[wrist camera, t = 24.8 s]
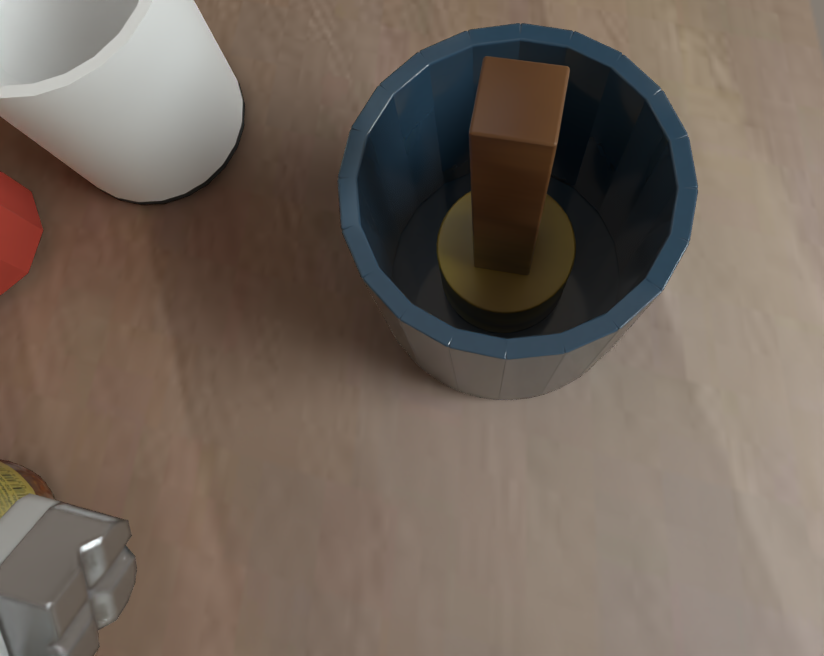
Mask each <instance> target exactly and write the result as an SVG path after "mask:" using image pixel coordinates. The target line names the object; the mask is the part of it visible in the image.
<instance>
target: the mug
mask: <svg viewBox="0 0 824 656" xmlns="http://www.w3.org/2000/svg"><path fill="white" fill-rule="evenodd" d="M244 112H245V103H244V99H243V96H242V92H241V88H240V84H239V82H238V81H237V79H236V77H235V75H234V73H233V71H232V70H231V68H230V66H229V64H228V62H227V60H226V58H225V57H224V55H223V53H222V51H221V49H220V47H219V46H218V44H217V42H216V40H215V38H214V36H213V35H212V33H211V31H210V29H209V27H208V25H207V24H206V22H205V20H204V18H203V16H202V14H201V13H200V11H199V9H198V7H197V5H196V3H195V2H194V0H0V117H2V118H3V119H5V120H6V121H7V122H9V123H10V124H11V125H13V126H14V127H16V128H17V129H18V130H20V131H21V132H22V133H24V134H25V135H26V136H28V137H29V138H31V139H32V140H33V141H35V142H36V143H37V144H39V145H40V146H41V147H43V148H44V149H46V150H47V151H48V152H50V153H51V154H52V155H54V156H55V157H56V158H58V159H59V160H61V161H62V162H63V163H65V164H66V165H67V166H69V167H70V168H71V169H73V170H74V171H76V172H77V173H78V174H80V175H81V176H82V177H84V178H85V179H87V180H88V181H89V182H91V183H92V184H93V185H95V186H96V187H98V188H99V189H100V190H102V191H104V192H106V193H107V194H109V195H111V196H113V197H115V198H117V199H119V200H122V201H127V202H132V203H136V204H141V205H143V204H163V203H167V202H171V201H174V200H177V199H180V198H184V197H187V196H189V195H191V194H193V193H194V192H196V191H198V190H199V189H201V188H203V187H204V186H206V185H208V184H209V183H210V182H211V181H212V180H213V179H214V178H215V177H216V176H217V175H218V174H219V173H220V172H221V171H222V170H223V169H224V168H225V167H226V165H227V163H228V162H229V160H230V159H231V157H232V155H233V154H234V152H235V151H236V149H237V147H238V144H239V141H240V137H241V134H242V131H243V128H244Z"/></svg>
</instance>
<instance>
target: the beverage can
mask: <svg viewBox="0 0 824 656" xmlns="http://www.w3.org/2000/svg"><path fill="white" fill-rule="evenodd" d="M42 233H43V228H42V225H41V221H40V218H39V215H38V212H37V208H36V205H35V202H34V198H33V195H32V192H31V191H30V190H28V189H27V188H25V187H24V186H22V185H21V184H19V183H18V182H16V181H15V180H13V179H12V178H10V177H9V176H7V175H6V174H4V173H3V172H1V171H0V295H2V294H3V293H4V292H5V291H7V290H8V289H9V288H10V287H12V286H13V285H14V284H15V283H17V282H18V281H19V280H20V279H21V278H23V277H24V276H25V275H26V274H28V272H29V270H30V267H31V264H32V261H33V258H34V255H35V253H36V250H37V247H38V244H39V241H40V238H41V235H42Z"/></svg>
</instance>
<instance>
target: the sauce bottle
mask: <svg viewBox="0 0 824 656" xmlns="http://www.w3.org/2000/svg"><path fill="white" fill-rule="evenodd" d="M29 493H30V494H34V495H38V496H42V497H46V498H50V499H53V500H54V497H53V494H52V492H51V490H50V488H49V487H48V486H47V484H46V482H44V480H43V479H42V478H41V477H40V476H39V475H37V474H35V473H34V472H33V471H31V470H28V469H26V468H24V467H23V466H21V465H18V464H15V463H12V462H9V461H4V460H0V518H1V517H2V516H3V515H4V514H5V513H6V512H7V511H8V510H9V508H10V507H11V506H12V505H13V504H14V503H15V502H16V501H17V500H18V499H20V498H22V497H24V496H26V495H28V494H29Z"/></svg>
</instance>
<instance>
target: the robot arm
mask: <svg viewBox="0 0 824 656" xmlns="http://www.w3.org/2000/svg"><path fill="white" fill-rule="evenodd" d="M131 536H132V534H131V530H130V526H129V521H128V520H125V519H122V518H118V517H114V516H111V515H107V514H104V513H100V512H96V511H93V510H89V509H86V508H82V507H78V506H75V505H71V504H67V503H64V502H61V501H57V500H53V499H50V498H46V497H42V496H38V495H34V494H30V493H29V494H28V495H26V496H24V497H22V498H20V499H18V500H17V501H16V502H15V503H14V504H13V505H12V506H11V507H10V508H9V510H8V511H7V512H6V513H5V514H4V515H3V516H2V517H1V518H0V656H94V655H95V653H96V652H97V650H98V648H99V647H100V646H99V632H98V630H100V629H102V628H104V627H105V626H107V625H109V624H111V623H112V622H114V621H116V620H117V619H118V617H119V616H120V614H121V613H122V611H123V609H124V608H125V606H126V604H127V603H128V601H129V598H130V595H131V593H132V590H133V587H134V585H135V581H136V572H137V565H136V558H135V555H134V554H133V553H132V552H131V551H130V550H129V549H128V547H127V546H126V544H127V542H128V541H129V539H130V538H131Z"/></svg>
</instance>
